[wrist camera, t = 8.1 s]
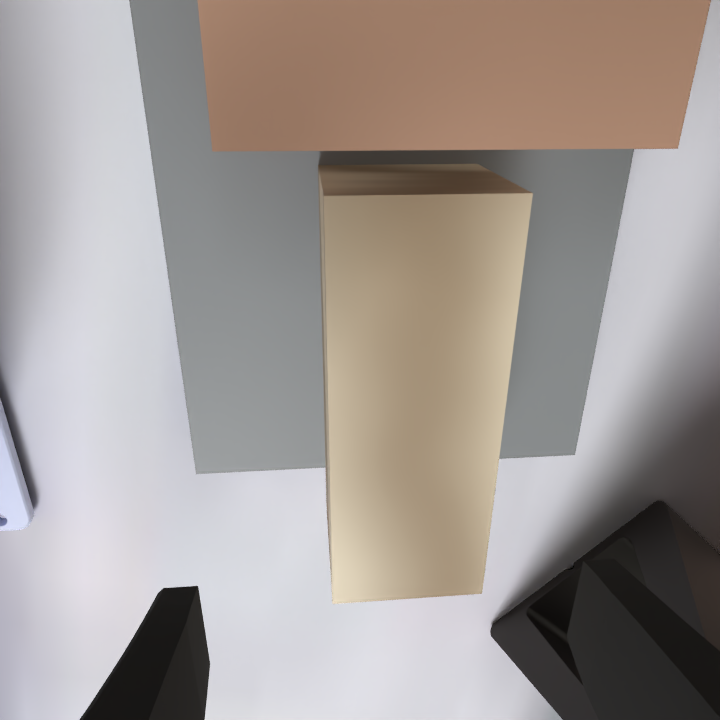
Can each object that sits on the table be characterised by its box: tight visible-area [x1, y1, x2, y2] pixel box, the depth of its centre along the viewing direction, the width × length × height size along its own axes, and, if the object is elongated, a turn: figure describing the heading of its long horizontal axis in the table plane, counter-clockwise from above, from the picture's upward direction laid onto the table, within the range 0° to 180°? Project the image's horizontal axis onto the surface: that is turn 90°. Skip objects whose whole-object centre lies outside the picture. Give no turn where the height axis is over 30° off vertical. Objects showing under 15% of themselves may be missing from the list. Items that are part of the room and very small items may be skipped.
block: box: [318, 164, 533, 604], centre depth 15 cm, size 4×10×4 cm, turn 0°
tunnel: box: [197, 0, 711, 152], centre depth 11 cm, size 8×3×5 cm, turn 90°
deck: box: [129, 0, 634, 474], centre depth 15 cm, size 12×20×2 cm, turn 0°
